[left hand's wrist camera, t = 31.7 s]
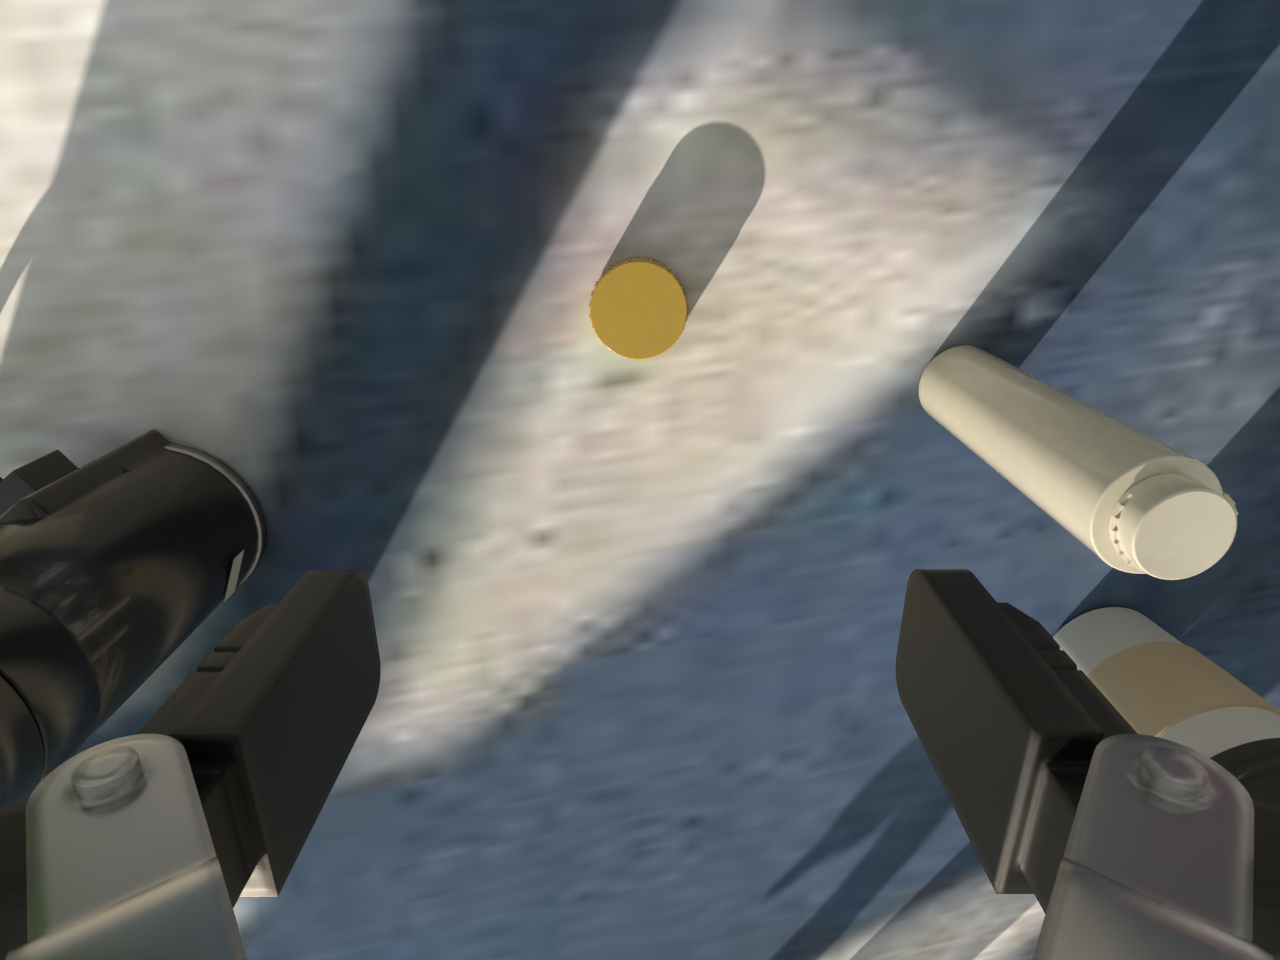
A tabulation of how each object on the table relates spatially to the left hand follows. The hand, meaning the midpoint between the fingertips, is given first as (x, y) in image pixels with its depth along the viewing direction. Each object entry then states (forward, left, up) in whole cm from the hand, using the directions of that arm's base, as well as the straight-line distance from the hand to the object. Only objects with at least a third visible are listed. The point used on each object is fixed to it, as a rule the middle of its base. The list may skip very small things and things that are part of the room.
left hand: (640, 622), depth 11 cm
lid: (0, 0, -28) cm, 28 cm away
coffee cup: (+33, +10, -29) cm, 46 cm away
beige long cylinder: (+13, +11, -29) cm, 34 cm away
